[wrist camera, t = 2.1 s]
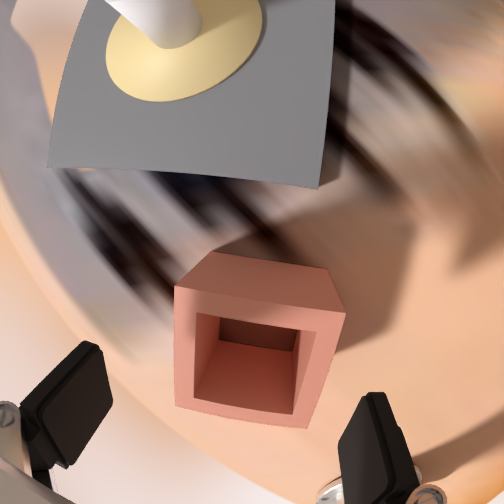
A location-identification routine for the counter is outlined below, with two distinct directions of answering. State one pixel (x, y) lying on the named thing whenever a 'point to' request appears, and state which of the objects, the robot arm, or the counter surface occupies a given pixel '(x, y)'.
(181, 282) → the collar
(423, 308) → the counter surface
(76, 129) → the post board
